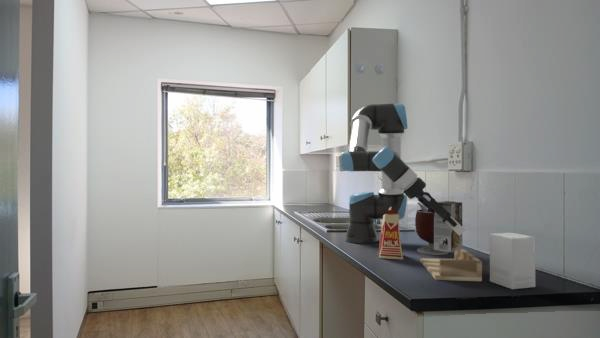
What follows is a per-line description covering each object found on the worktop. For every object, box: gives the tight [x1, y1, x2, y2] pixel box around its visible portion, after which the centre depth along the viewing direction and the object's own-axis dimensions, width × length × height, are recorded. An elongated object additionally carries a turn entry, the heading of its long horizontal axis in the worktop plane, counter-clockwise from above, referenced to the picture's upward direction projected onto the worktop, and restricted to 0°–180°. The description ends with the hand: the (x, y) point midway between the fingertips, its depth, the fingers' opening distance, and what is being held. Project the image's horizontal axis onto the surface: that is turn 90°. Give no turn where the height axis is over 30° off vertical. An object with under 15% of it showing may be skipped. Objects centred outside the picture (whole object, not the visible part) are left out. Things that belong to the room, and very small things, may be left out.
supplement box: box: [489, 232, 536, 290], centre depth 116 cm, size 9×9×15 cm
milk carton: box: [378, 207, 404, 260], centre depth 152 cm, size 9×9×20 cm
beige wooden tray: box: [419, 247, 483, 282], centre depth 131 cm, size 24×14×6 cm, turn 174°
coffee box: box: [434, 200, 463, 253], centre depth 131 cm, size 9×6×16 cm
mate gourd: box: [414, 201, 449, 256], centre depth 161 cm, size 16×14×20 cm
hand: (457, 230), depth 131 cm, fingers closed on coffee box, 10 cm apart
